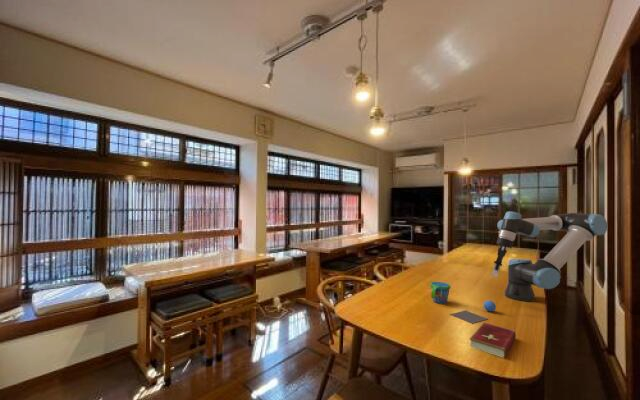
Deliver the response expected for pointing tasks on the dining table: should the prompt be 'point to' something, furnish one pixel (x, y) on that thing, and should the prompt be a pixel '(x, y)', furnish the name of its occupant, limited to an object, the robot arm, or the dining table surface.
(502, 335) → the hardcover book
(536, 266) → the robot arm
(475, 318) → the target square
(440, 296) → the snack cup
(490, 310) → the ball
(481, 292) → the dining table surface
